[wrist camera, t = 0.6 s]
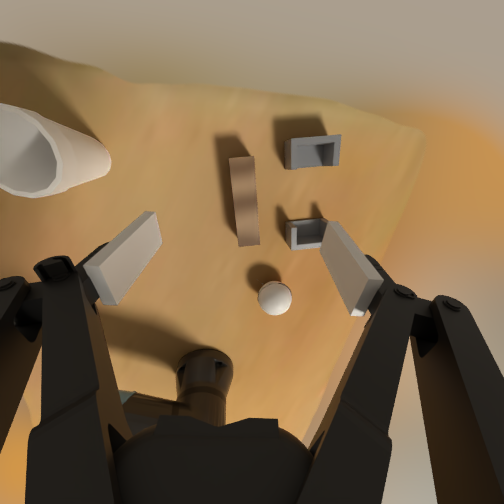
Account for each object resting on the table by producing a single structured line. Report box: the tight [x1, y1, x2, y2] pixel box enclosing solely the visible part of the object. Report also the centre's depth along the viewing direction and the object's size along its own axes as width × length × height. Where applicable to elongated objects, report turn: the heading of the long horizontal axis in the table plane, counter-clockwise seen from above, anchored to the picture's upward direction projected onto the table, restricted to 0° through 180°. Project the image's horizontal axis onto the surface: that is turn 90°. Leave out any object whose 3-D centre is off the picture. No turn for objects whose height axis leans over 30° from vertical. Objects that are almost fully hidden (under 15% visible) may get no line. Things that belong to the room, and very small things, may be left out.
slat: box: [229, 156, 260, 247], centre depth 37 cm, size 15×4×5 cm, turn 5°
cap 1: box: [284, 135, 341, 170], centre depth 34 cm, size 4×8×4 cm, turn 95°
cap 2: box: [286, 218, 328, 250], centre depth 40 cm, size 4×8×4 cm, turn 95°
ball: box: [258, 280, 292, 315], centre depth 44 cm, size 10×7×7 cm
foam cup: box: [0, 103, 111, 198], centre depth 28 cm, size 10×9×13 cm
